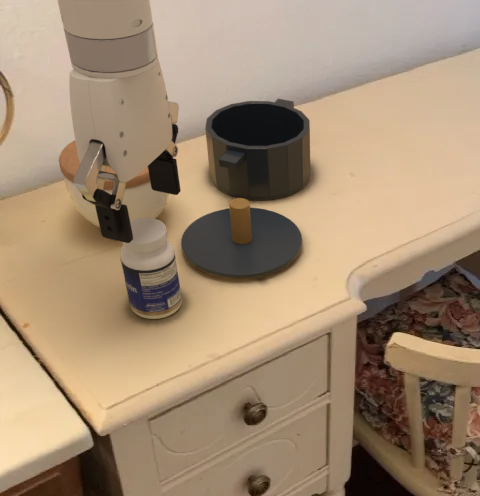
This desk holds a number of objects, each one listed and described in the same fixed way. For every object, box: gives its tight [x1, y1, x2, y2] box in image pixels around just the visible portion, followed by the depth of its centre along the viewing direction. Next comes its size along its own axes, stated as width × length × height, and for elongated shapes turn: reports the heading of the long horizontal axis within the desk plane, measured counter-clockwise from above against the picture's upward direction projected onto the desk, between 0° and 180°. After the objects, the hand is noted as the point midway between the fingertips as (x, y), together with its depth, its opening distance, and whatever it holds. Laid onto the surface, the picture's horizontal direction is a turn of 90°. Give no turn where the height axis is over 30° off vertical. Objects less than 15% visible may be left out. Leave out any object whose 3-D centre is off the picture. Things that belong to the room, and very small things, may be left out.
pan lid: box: [180, 197, 303, 279], centre depth 100 cm, size 15×15×6 cm
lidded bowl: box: [58, 139, 170, 229], centre depth 102 cm, size 13×13×11 cm
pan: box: [204, 98, 311, 201], centre depth 113 cm, size 14×19×8 cm
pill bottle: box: [119, 218, 183, 320], centre depth 90 cm, size 6×6×10 cm
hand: (143, 214), depth 85 cm, fingers open, 9 cm apart
